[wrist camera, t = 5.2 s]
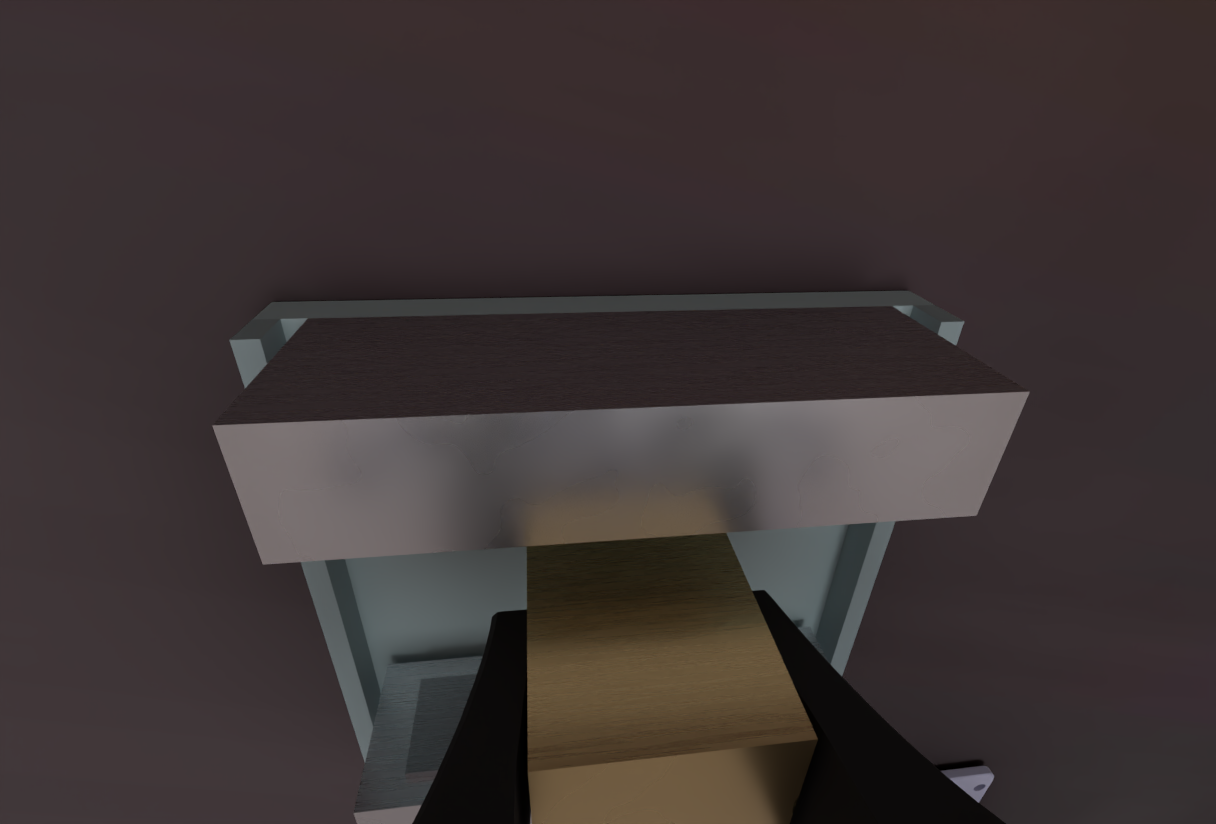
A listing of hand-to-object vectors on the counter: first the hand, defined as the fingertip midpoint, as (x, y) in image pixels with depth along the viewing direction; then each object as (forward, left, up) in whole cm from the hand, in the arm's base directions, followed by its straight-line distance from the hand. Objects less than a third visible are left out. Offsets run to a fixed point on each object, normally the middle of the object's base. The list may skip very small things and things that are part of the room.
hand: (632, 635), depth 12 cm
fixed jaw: (+4, 0, -3) cm, 5 cm away
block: (0, 0, -2) cm, 2 cm away
